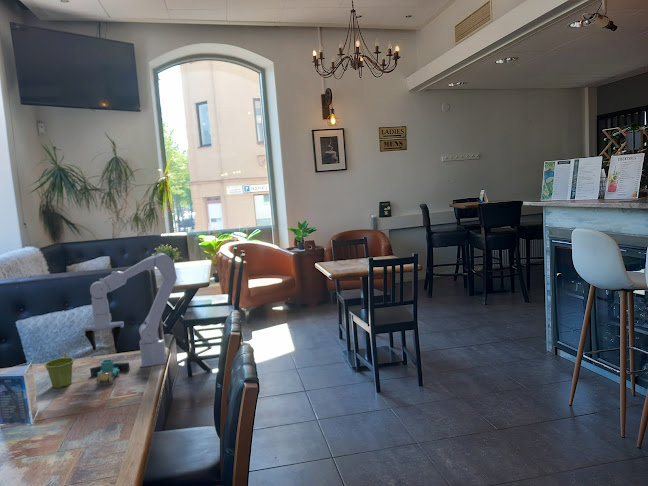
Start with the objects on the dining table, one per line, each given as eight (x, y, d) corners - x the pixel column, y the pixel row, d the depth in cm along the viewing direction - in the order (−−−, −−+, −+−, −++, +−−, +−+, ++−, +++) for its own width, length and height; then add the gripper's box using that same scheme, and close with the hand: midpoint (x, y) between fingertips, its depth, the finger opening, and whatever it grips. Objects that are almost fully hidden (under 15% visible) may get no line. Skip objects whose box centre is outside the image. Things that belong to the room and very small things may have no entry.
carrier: (130, 368, 190) (128, 356, 189) (125, 382, 176) (123, 368, 175) (91, 374, 186) (90, 361, 186) (83, 388, 172) (81, 374, 172)
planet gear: (120, 368, 187) (119, 356, 187) (118, 375, 180) (116, 362, 179) (99, 372, 185) (97, 359, 185) (95, 379, 178) (94, 365, 177)
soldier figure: (47, 375, 192) (50, 357, 202) (58, 380, 195) (61, 362, 205) (60, 360, 192) (62, 343, 202) (71, 366, 194) (73, 349, 204)
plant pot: (82, 379, 181) (79, 356, 180) (66, 389, 172) (63, 366, 171) (58, 380, 182) (55, 357, 181) (41, 390, 173) (38, 367, 172)
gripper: (123, 308, 191) (126, 342, 193) (82, 313, 187) (86, 347, 189) (120, 312, 184) (125, 347, 186) (78, 317, 180) (83, 353, 182)
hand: (105, 347), depth 187 cm, fingers open, 7 cm apart
